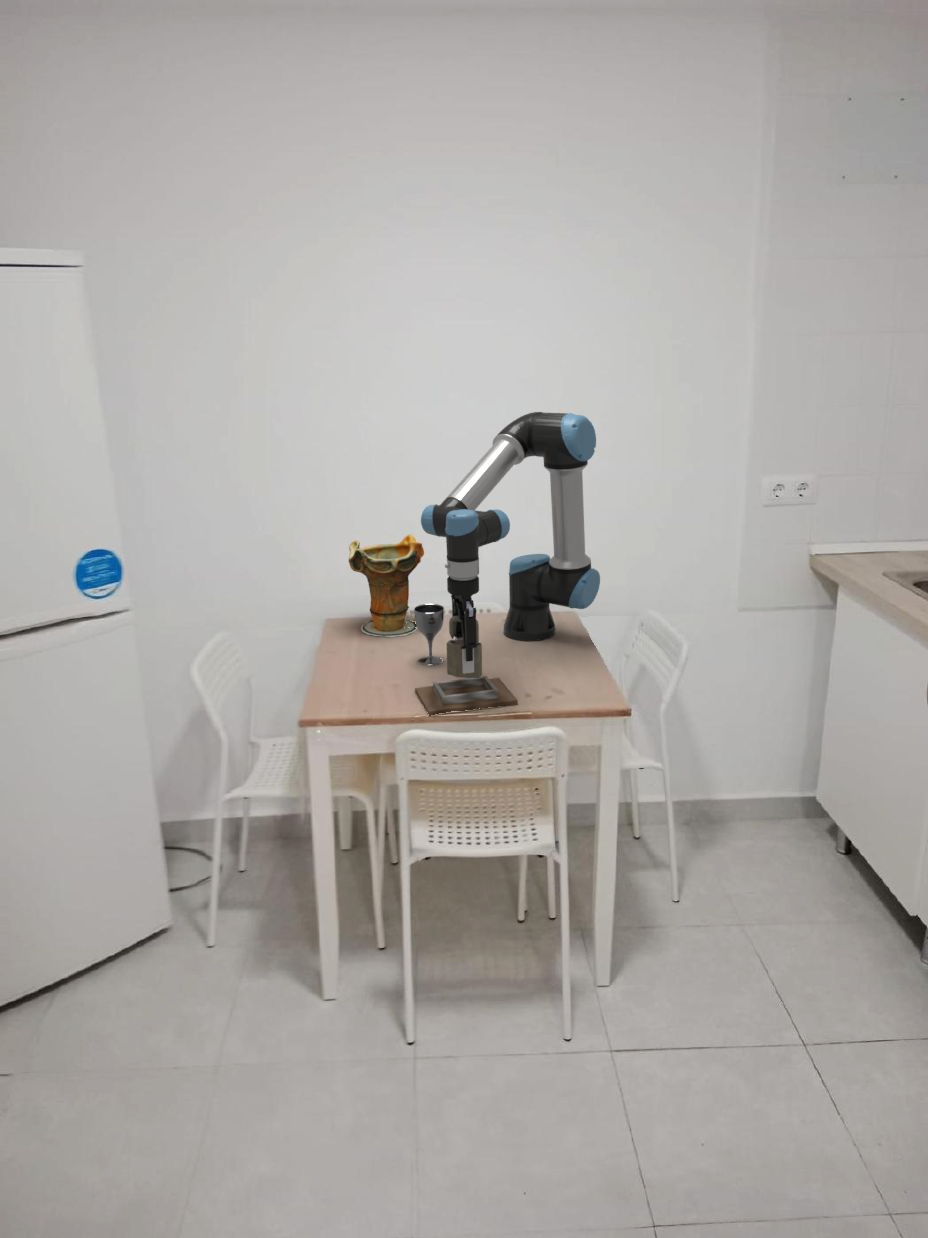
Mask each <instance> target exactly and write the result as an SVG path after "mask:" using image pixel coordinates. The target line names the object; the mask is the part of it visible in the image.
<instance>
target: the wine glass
mask: <svg viewBox="0 0 928 1238" xmlns="http://www.w3.org/2000/svg"><path fill="white" fill-rule="evenodd" d="M413 612H414V621H416V625H417V628H418V629H417V630H418V631H419V632H420V634H422V636H423V637H424V638H425V639H426V640H427V644H428V655H425V656H423V657H422V656H421V657H419V658H418V659H419V660H418V659H417V662H419V663H418V664H419V665H424V666H437V665H440V663H441V662H442V659H440V658H441V656H437V655H433V642H434V639H435V637H436V636H437V634H439V632H440V631H441V630H442V627H443V625H444V619H445V606H443V605H442V604H438V603H437V604H436V603H425V604H424V603H423V604H419V605H417V606H415V607H414V611H413ZM442 663H443V662H442ZM442 663H441V664H442ZM436 664H437V665H436Z"/></svg>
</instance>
